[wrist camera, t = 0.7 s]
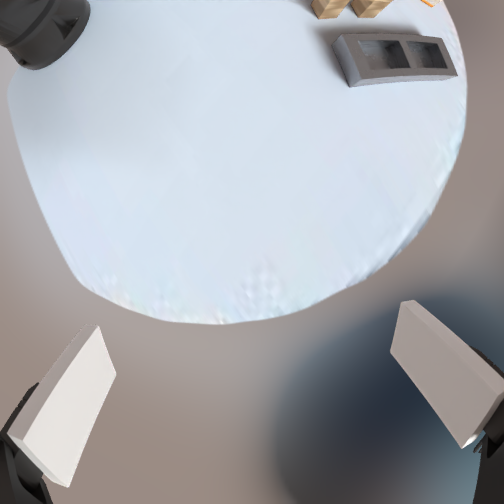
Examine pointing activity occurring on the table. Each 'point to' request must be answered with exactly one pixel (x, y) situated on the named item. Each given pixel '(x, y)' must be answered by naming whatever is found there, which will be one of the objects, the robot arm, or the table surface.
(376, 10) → the clip
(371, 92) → the table surface
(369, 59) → the grey rectangular block
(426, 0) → the supplement box
